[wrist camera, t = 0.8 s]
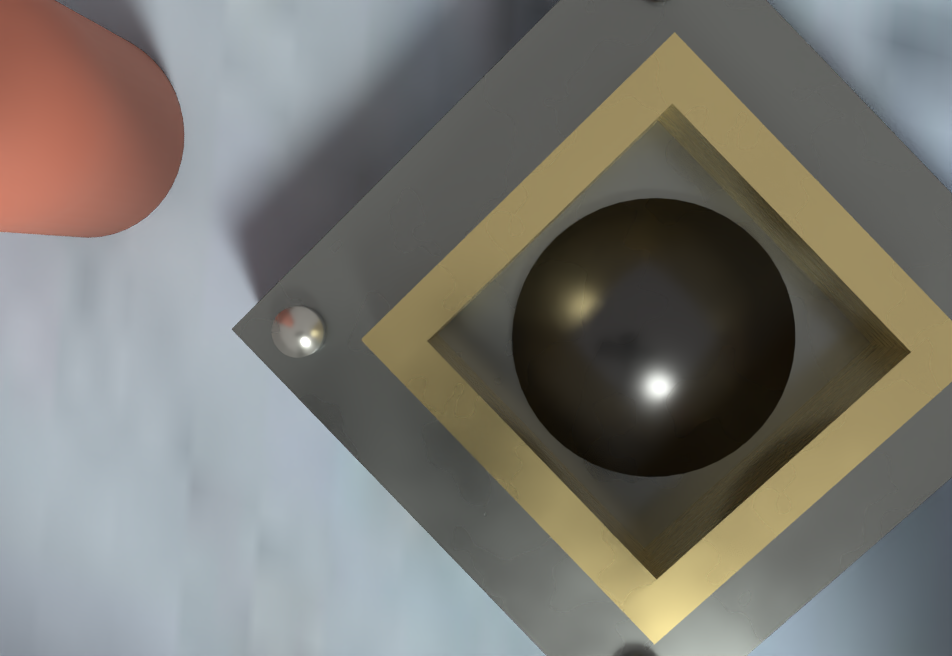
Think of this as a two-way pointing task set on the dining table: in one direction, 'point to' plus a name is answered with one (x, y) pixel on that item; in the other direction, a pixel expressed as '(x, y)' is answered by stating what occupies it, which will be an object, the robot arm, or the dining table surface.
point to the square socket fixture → (640, 329)
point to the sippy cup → (80, 125)
